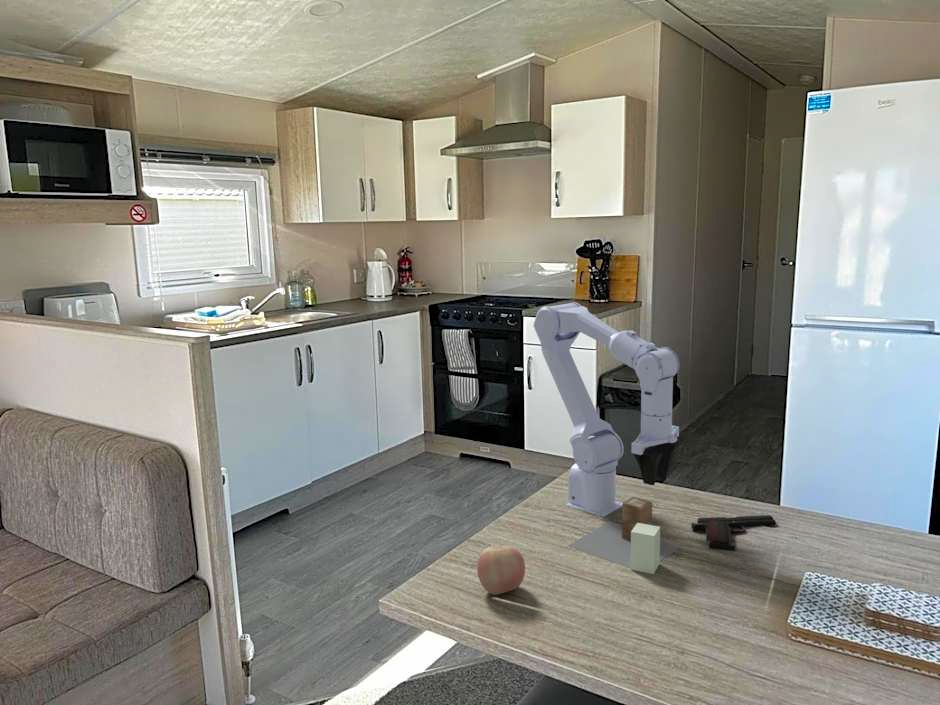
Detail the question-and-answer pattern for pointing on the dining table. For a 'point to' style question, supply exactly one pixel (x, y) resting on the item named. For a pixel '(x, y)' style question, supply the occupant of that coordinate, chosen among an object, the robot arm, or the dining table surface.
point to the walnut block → (635, 515)
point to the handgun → (728, 528)
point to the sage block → (645, 548)
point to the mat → (616, 544)
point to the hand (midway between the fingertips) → (655, 480)
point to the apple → (500, 569)
